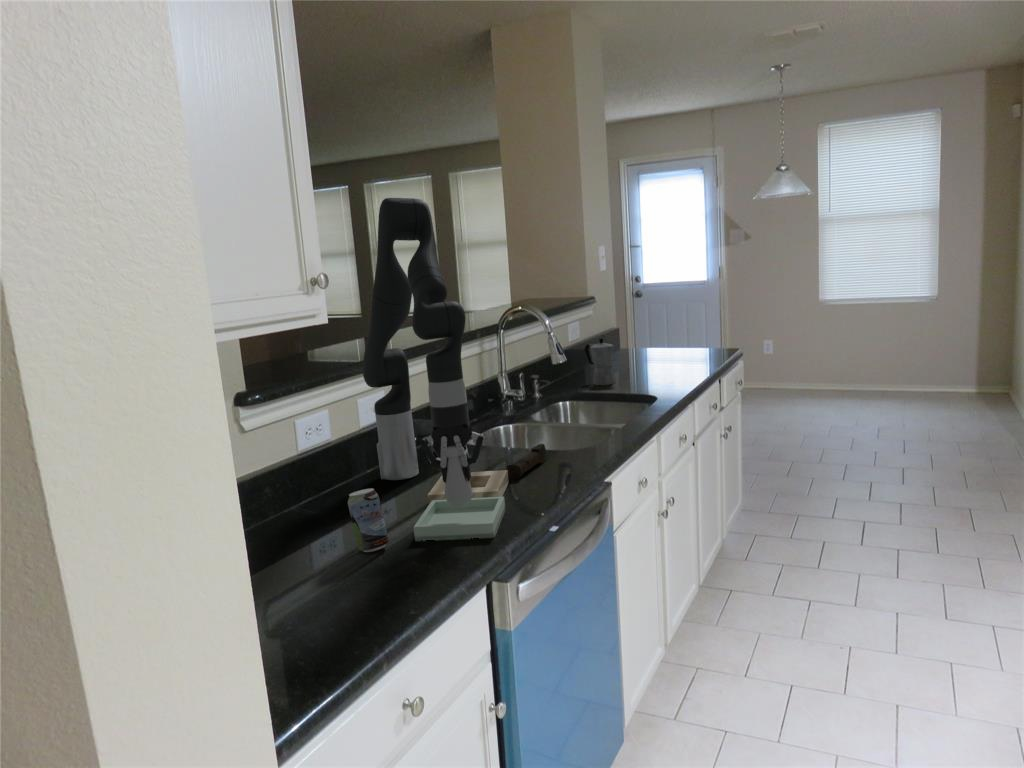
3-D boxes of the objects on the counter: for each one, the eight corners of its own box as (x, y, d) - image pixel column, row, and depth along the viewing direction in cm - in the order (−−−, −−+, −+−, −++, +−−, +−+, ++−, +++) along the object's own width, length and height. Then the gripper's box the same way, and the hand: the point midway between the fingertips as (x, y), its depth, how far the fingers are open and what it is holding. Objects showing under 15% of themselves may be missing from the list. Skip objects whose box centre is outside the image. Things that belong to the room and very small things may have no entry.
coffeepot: (625, 382, 301) (621, 336, 298) (610, 386, 294) (606, 340, 291) (595, 380, 312) (591, 336, 309) (579, 384, 305) (576, 339, 302)
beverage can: (375, 557, 146) (367, 497, 144) (347, 552, 150) (338, 494, 148) (396, 545, 151) (389, 487, 149) (369, 541, 155) (361, 484, 153)
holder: (429, 507, 172) (427, 494, 171) (444, 485, 187) (443, 473, 187) (499, 504, 170) (497, 491, 169) (508, 481, 185) (507, 470, 185)
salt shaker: (452, 511, 154) (445, 449, 152) (441, 504, 159) (434, 444, 157) (478, 505, 157) (471, 443, 155) (467, 498, 162) (460, 439, 160)
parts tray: (415, 541, 152) (413, 527, 152) (433, 513, 168) (432, 500, 167) (494, 537, 150) (492, 523, 149) (505, 509, 165) (504, 496, 165)
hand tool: (520, 480, 186) (518, 462, 185) (506, 479, 188) (504, 461, 187) (555, 459, 202) (554, 442, 201) (542, 458, 204) (540, 441, 203)
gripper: (409, 408, 152) (420, 491, 155) (479, 403, 150) (488, 487, 153) (419, 400, 159) (428, 480, 162) (485, 395, 157) (494, 476, 160)
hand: (457, 483), depth 157 cm, fingers closed on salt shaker, 3 cm apart
